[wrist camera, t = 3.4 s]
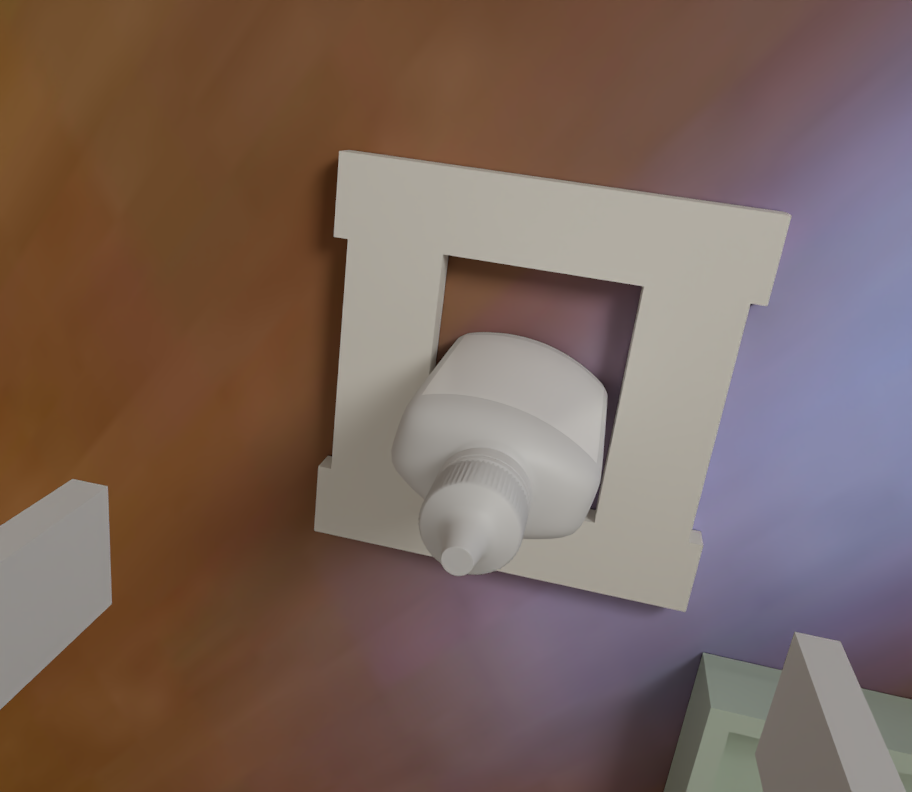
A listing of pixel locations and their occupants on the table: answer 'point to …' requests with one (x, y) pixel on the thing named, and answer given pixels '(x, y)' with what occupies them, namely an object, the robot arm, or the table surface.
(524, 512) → the eye dropper bottle
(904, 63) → the table surface
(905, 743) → the tray
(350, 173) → the socket plate
